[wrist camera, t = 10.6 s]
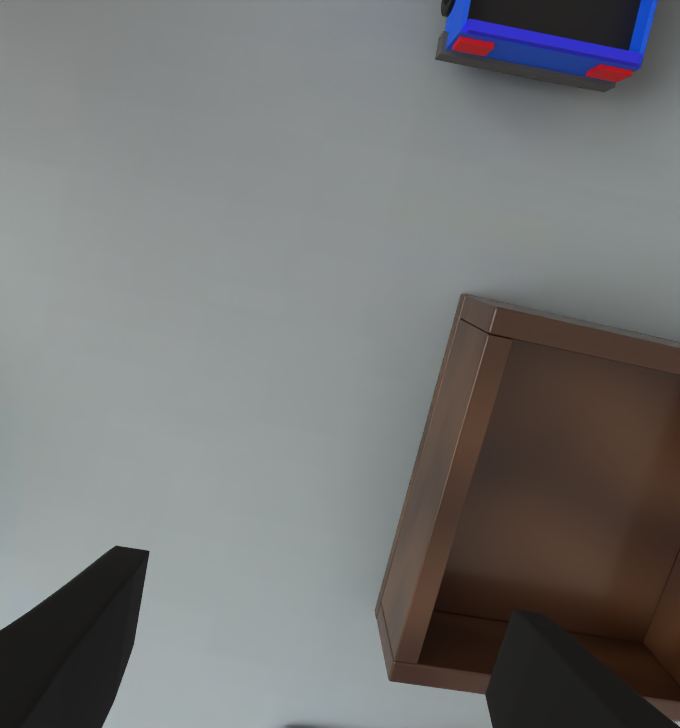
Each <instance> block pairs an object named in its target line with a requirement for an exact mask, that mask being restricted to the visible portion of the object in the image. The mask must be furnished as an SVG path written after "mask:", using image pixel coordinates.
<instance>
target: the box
mask: <svg viewBox="0 0 680 728" xmlns="http://www.w3.org/2000/svg"><path fill="white" fill-rule="evenodd" d="M513 609H518V610H524V611H530V612H537V613H542V614H544V615H545V616H546V617H548V618H549V619H551V620H552V621H553V622H554V623H556V624H557V625H558V626H560V627H561V628H562V629H563V630H565V631H566V632H567V633H568V634H569V635H571V636H572V637H573V638H574V639H575V640H577V641H578V642H579V643H580V644H581V645H582V646H584V647H585V648H586V649H587V650H588V651H589V652H591V653H592V654H593V655H594V656H595V657H596V658H598V659H599V660H600V661H601V662H602V663H603V664H604V665H606V666H607V667H608V668H609V669H610V670H611V671H613V672H614V673H615V674H616V675H617V676H618V677H620V678H621V679H622V680H623V681H624V682H626V683H627V684H628V685H629V686H630V687H631V688H633V689H634V690H635V691H636V692H637V693H639V694H640V695H641V696H642V697H643V698H644V699H646V700H647V701H648V702H649V703H651V704H652V705H653V706H654V707H655V708H657V709H658V710H659V711H660V712H662V713H663V714H664V715H665V716H666V717H668V718H669V719H670V720H673V721H680V342H676V341H671V340H667V339H662V338H658V337H653V336H649V335H645V334H640V333H636V332H631V331H627V330H623V329H618V328H614V327H609V326H605V325H600V324H596V323H592V322H587V321H583V320H578V319H574V318H570V317H565V316H561V315H556V314H552V313H547V312H543V311H539V310H534V309H530V308H525V307H521V306H517V305H512V304H508V303H503V302H499V301H494V300H490V299H486V298H481V297H477V296H472V295H468V294H464V293H463V294H461V296H460V300H459V304H458V307H457V311H456V315H455V318H454V322H453V326H452V329H451V333H450V337H449V340H448V344H447V348H446V351H445V355H444V359H443V362H442V366H441V370H440V373H439V377H438V381H437V384H436V388H435V392H434V395H433V399H432V403H431V406H430V410H429V414H428V417H427V421H426V425H425V428H424V432H423V436H422V439H421V443H420V447H419V450H418V454H417V458H416V461H415V465H414V469H413V472H412V476H411V480H410V483H409V487H408V491H407V494H406V498H405V502H404V505H403V509H402V513H401V516H400V520H399V524H398V527H397V531H396V535H395V538H394V542H393V546H392V549H391V553H390V557H389V560H388V564H387V568H386V571H385V575H384V579H383V582H382V586H381V590H380V593H379V597H378V601H377V604H376V608H375V615H376V619H377V623H378V628H379V633H380V638H381V644H382V649H383V654H384V659H385V664H386V669H387V674H388V679H389V681H393V682H400V683H407V684H414V685H422V686H429V687H436V688H443V689H450V690H458V691H465V692H472V693H479V694H485V693H486V690H487V687H488V684H489V681H490V678H491V675H492V672H493V669H494V666H495V663H496V660H497V657H498V654H499V651H500V648H501V645H502V642H503V639H504V636H505V633H506V630H507V627H508V624H509V621H510V618H511V615H512V612H513Z"/></svg>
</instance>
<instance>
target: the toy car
mask: <svg viewBox="0 0 680 728" xmlns="http://www.w3.org/2000/svg"><path fill="white" fill-rule="evenodd" d="M657 1H658V0H442V5H441V13H442V16H446V17H447V22H446V28H445V31H444V32H443V33H442V35H441V36H440V37H439V41H438V47H437V52H436V58H435V60H440V61H445V62H450V63H455V64H461V65H466V66H471V67H476V68H481V69H486V70H492V71H497V72H502V73H507V74H512V75H517V76H523V77H528V78H533V79H538V80H543V81H548V82H554V83H559V84H564V85H569V86H574V87H579V88H585V89H590V90H595V91H600V92H606V91H608V90H610V89H612V88H614V87H615V84H616V82H619V81H621V80H623V79H625V78H627V77H629V76H631V75H632V73H633V72H634V71H636V70H638V69H640V68H641V65H642V61H643V57H644V53H645V49H646V45H647V41H648V37H649V33H650V29H651V25H652V21H653V17H654V13H655V9H656V5H657Z"/></svg>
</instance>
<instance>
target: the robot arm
mask: <svg viewBox="0 0 680 728" xmlns="http://www.w3.org/2000/svg"><path fill="white" fill-rule="evenodd" d="M148 557H149V551H146V550H140V549H134V548H128V547H121V546H115V547H113V548H112V549H110V550H109V551H107V552H106V553H105V554H104V555H102V556H101V557H100V558H99V559H97V560H96V561H95V562H94V563H92V564H91V565H90V566H89V567H87V568H86V569H85V570H84V571H82V572H81V573H80V574H79V575H77V576H76V577H75V578H73V579H72V580H71V581H70V582H68V583H67V584H66V585H64V586H63V587H62V588H60V589H59V590H58V591H56V592H55V593H53V594H52V595H51V596H49V597H48V598H47V599H45V600H44V601H43V602H41V603H40V604H38V605H37V606H36V607H34V608H33V609H32V610H30V611H29V612H27V613H26V614H24V615H23V616H22V617H20V618H19V619H17V620H15V621H14V622H12V623H11V624H9V625H8V626H6V627H5V628H3V629H2V630H0V728H102V726H103V724H104V722H105V720H106V717H107V715H108V713H109V711H110V709H111V707H112V704H113V702H114V700H115V697H116V694H117V692H118V689H119V686H120V683H121V680H122V677H123V675H124V672H125V669H126V666H127V663H128V660H129V657H130V654H131V651H132V648H133V645H134V640H135V634H136V628H137V622H138V616H139V610H140V604H141V598H142V593H143V587H144V581H145V575H146V569H147V563H148ZM485 695H486V700H487V704H488V709H489V713H490V718H491V722H492V726H493V728H680V727H679V726H678V725H677V724H675V723H674V722H673V721H672V720H670V719H669V718H668V717H666V716H665V715H664V714H663V713H662V712H660V711H659V710H658V709H657V708H655V707H654V706H653V705H652V704H651V703H649V702H648V701H647V700H646V699H644V698H643V697H642V696H641V695H640V694H639V693H637V692H636V691H635V690H634V689H633V688H631V687H630V686H629V685H628V684H627V683H626V682H624V681H623V680H622V679H621V678H620V677H618V676H617V675H616V674H615V673H614V672H613V671H611V670H610V669H609V668H608V667H607V666H606V665H604V664H603V663H602V662H601V661H600V660H599V659H598V658H596V657H595V656H594V655H593V654H592V653H591V652H589V651H588V650H587V649H586V648H585V647H584V646H582V645H581V644H580V643H579V642H578V641H577V640H575V639H574V638H573V637H572V636H571V635H569V634H568V633H567V632H566V631H565V630H563V629H562V628H561V627H560V626H558V625H557V624H556V623H554V622H553V621H552V620H551V619H549V618H548V617H546V616H545V615H544V614H542V613H537V612H530V611H524V610H518V609H513V612H512V615H511V618H510V621H509V624H508V627H507V630H506V633H505V636H504V639H503V642H502V645H501V648H500V651H499V654H498V657H497V660H496V663H495V666H494V669H493V672H492V675H491V678H490V681H489V684H488V687H487V690H486V693H485Z"/></svg>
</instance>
